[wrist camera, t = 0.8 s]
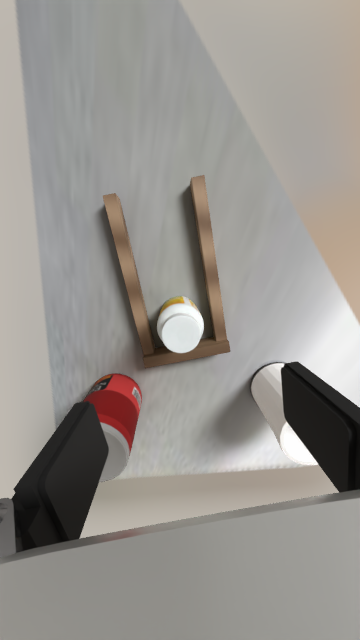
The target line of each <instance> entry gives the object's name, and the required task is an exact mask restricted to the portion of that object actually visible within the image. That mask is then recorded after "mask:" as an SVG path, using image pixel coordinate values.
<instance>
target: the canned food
mask: <svg viewBox="0 0 360 640" xmlns="http://www.w3.org/2000/svg"><path fill="white" fill-rule="evenodd" d="M85 401H89V402H90V403H93V404H94V406H95V409H96V412H97V415H98V418H99V420H100V423H101V426H102V429H103V432H104V435H105V438H106V441H107V444H108V447H109V453H108V457H107V460H106V463H105V466H104V468H103V471H102V474H101V477H100V480H99V482H103V481H108V480H111V479H113V478H115V477H117V476H118V475H119V474H120V473H121V472H122V471H123V470H124V469H125V467H126V465H127V462H128V459H129V456H130V451H131V448H132V443H133V439H134V434H135V430H136V425H137V421H138V416H139V412H140V407H141V403H142V395H141V391H140V388H139V386H138V385H137V383H136V382H135V381H134V380H133V379H131V378H130V377H128V376H126V375H122V374H109V375H106V376H104V377H102V378H101V379H99V380H98V381H97V382H96V383H95V384H94V386H93V387H92V389H91V390H90V392H89V393H88V394H87V396H86V397H85V399H84V400H83V402H85Z"/></svg>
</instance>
